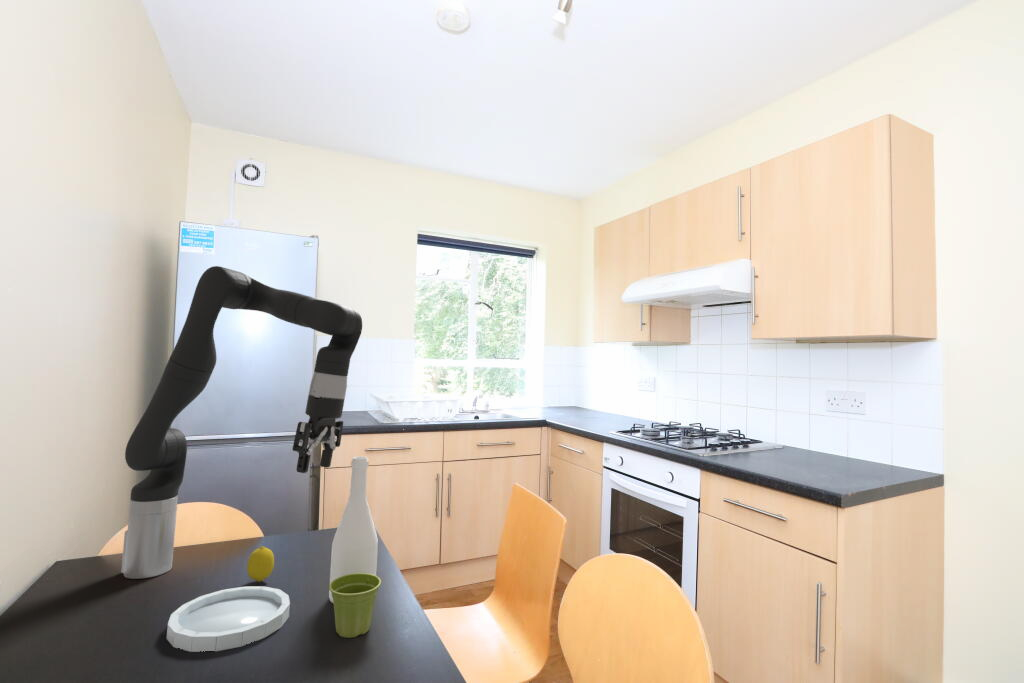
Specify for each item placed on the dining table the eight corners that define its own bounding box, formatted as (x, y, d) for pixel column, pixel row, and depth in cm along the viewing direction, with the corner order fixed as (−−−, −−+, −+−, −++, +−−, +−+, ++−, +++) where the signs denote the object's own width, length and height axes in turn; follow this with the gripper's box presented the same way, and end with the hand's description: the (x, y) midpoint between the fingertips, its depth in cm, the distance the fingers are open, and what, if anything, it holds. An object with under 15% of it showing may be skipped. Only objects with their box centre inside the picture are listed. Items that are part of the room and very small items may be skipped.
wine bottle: (370, 586, 111) (378, 453, 114) (378, 604, 103) (386, 460, 105) (326, 592, 107) (335, 454, 109) (330, 612, 99) (340, 462, 101)
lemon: (261, 588, 108) (264, 551, 109) (240, 585, 109) (242, 549, 110) (278, 578, 113) (280, 543, 114) (257, 576, 115) (260, 541, 115)
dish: (140, 638, 87) (141, 623, 87) (234, 592, 106) (235, 580, 106) (227, 661, 81) (228, 645, 81) (310, 608, 100) (311, 595, 100)
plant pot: (369, 644, 87) (372, 594, 88) (318, 642, 88) (321, 592, 88) (384, 619, 97) (386, 574, 97) (337, 616, 97) (340, 571, 98)
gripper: (329, 393, 114) (317, 462, 113) (291, 391, 100) (276, 471, 99) (358, 397, 113) (346, 468, 111) (324, 396, 99) (309, 477, 97)
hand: (313, 469), depth 105 cm, fingers open, 8 cm apart
